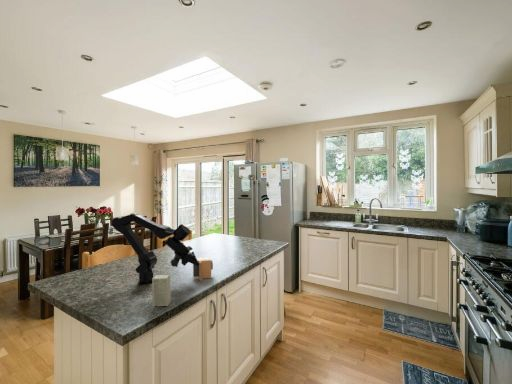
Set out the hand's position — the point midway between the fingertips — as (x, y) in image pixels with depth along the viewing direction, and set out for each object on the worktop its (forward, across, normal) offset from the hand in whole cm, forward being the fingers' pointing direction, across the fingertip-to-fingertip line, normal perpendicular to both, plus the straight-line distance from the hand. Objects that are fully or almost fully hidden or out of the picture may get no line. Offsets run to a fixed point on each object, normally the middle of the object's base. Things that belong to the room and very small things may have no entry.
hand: (198, 265), depth 131 cm
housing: (+7, -6, -5) cm, 10 cm away
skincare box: (-6, +23, -18) cm, 30 cm away
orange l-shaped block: (+8, -1, -3) cm, 9 cm away
